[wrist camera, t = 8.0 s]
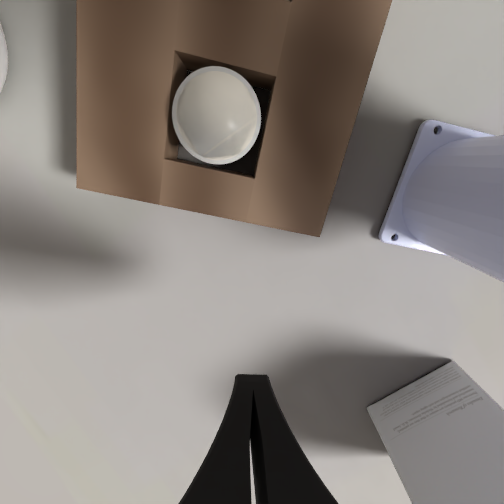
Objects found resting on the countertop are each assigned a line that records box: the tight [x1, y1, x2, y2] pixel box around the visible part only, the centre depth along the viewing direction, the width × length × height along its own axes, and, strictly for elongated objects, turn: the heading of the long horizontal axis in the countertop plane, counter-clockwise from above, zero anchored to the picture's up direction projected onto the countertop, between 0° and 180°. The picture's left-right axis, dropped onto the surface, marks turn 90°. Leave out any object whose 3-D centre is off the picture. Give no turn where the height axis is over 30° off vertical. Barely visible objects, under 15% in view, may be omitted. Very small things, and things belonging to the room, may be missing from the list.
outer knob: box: [172, 66, 261, 164], centre depth 15 cm, size 4×4×3 cm
